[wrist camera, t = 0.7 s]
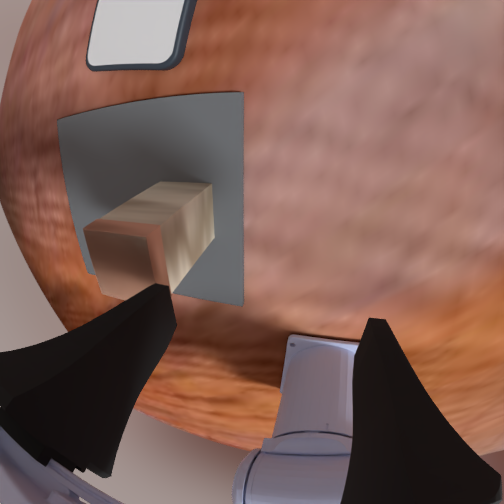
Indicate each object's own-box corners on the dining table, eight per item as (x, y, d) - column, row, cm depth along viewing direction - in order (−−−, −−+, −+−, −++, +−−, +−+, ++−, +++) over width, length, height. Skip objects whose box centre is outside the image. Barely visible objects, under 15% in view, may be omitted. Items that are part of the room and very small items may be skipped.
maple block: (215, 238, 20) (161, 309, 14) (165, 232, 21) (102, 293, 14) (212, 182, 18) (146, 236, 12) (159, 180, 19) (82, 228, 12)
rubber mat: (243, 302, 23) (242, 306, 23) (90, 270, 27) (87, 273, 26) (243, 92, 15) (241, 92, 15) (60, 118, 19) (56, 119, 18)
